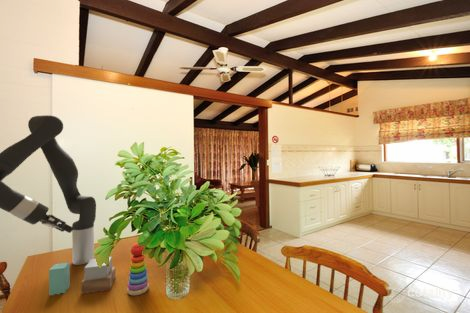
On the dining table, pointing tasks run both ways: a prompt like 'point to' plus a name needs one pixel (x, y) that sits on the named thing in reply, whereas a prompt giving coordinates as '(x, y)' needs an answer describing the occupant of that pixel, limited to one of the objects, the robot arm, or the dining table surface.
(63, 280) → the teal pillar block
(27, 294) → the dining table surface
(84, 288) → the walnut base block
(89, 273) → the grey top block
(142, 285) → the stacking toy
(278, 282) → the dining table surface
